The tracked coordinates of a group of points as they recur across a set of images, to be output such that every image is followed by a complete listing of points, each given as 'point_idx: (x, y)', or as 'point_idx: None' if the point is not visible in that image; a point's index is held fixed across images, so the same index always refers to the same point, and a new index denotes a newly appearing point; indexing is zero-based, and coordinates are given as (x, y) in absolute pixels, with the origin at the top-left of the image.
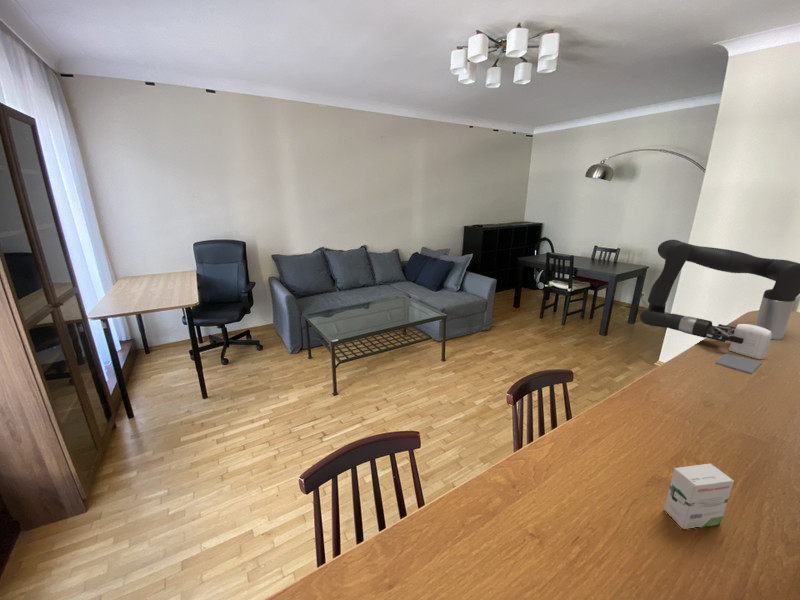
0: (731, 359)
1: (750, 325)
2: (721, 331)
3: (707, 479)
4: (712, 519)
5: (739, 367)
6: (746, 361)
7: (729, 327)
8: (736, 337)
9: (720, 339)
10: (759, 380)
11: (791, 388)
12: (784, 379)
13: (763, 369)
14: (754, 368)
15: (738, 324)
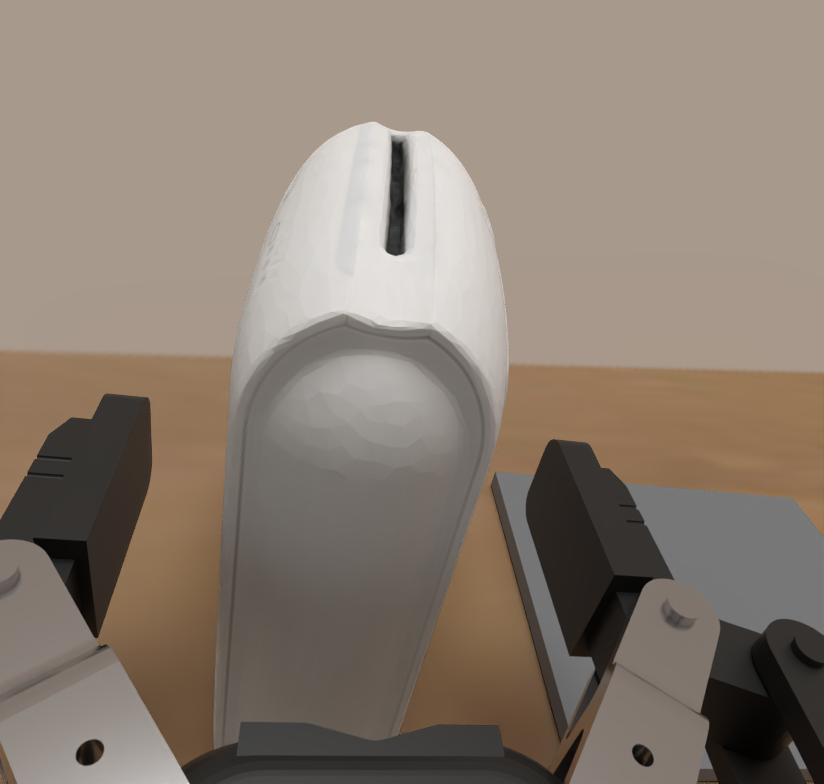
0: None
1: (440, 173)
2: (694, 759)
3: None
4: None
5: (813, 570)
6: None
7: (16, 701)
8: (616, 502)
9: (757, 782)
10: (812, 469)
11: (709, 374)
12: (624, 391)
13: None
14: (688, 495)
15: (437, 313)
